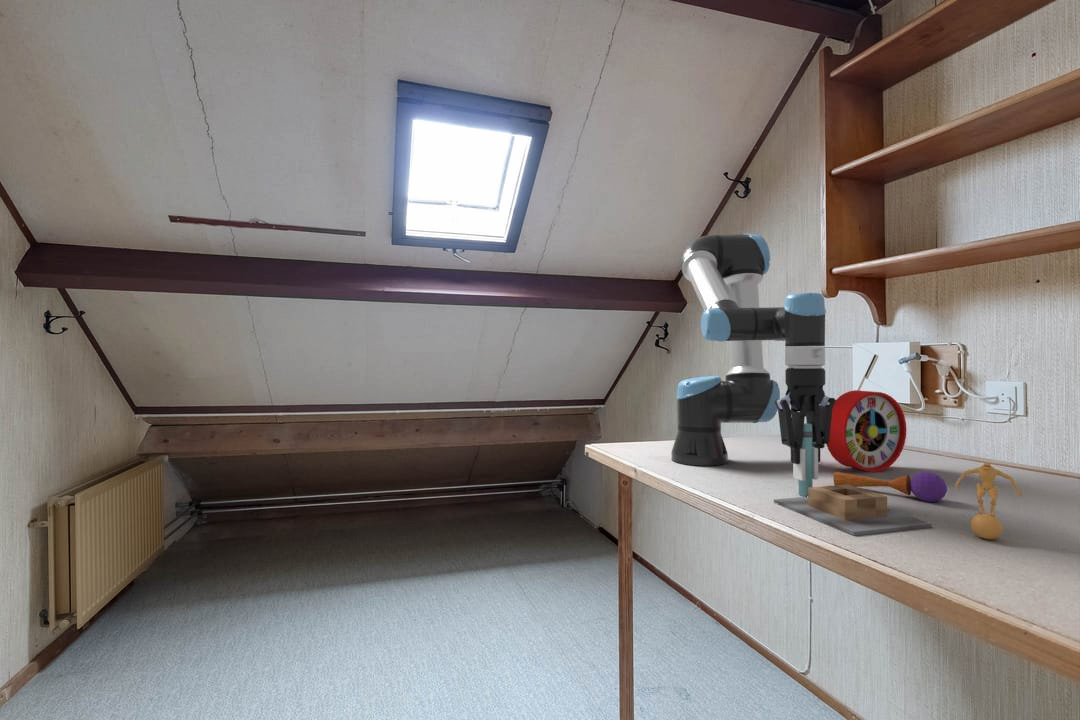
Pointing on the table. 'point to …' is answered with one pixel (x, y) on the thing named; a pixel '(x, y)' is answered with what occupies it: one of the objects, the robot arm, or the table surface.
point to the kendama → (901, 484)
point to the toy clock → (867, 430)
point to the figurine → (988, 523)
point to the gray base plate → (851, 510)
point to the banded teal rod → (807, 460)
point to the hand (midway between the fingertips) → (805, 478)
